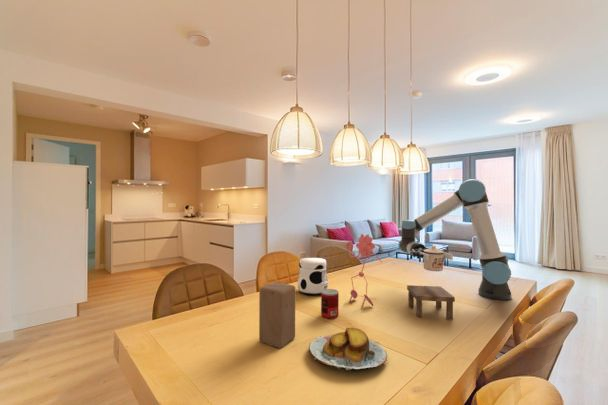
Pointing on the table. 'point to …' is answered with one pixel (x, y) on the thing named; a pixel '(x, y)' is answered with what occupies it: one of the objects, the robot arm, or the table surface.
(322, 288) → the milk container
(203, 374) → the table surface
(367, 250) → the figurine
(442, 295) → the walnut footstool
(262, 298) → the wooden block
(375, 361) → the food on plate
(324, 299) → the canned food
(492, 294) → the robot arm
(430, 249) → the teacup with lid
